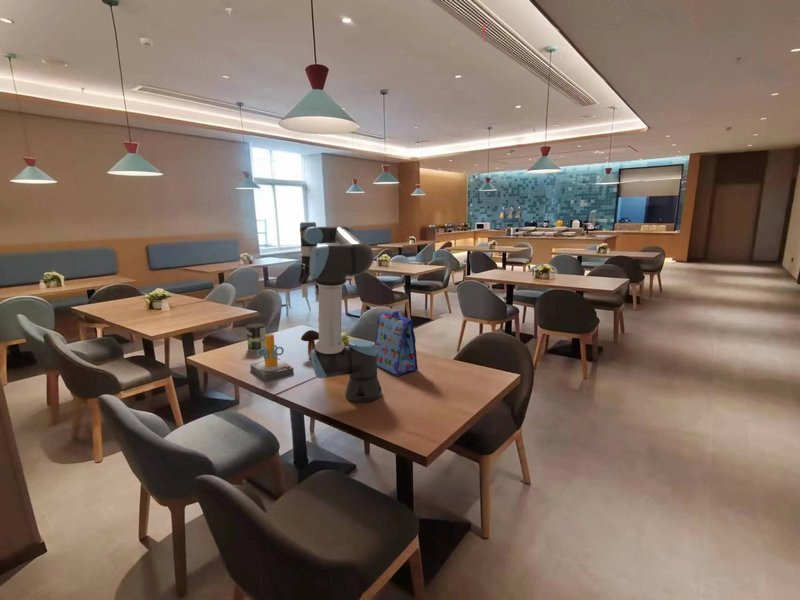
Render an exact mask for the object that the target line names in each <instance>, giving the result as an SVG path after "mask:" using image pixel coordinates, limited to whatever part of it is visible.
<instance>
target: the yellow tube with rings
mask: <svg viewBox="0 0 800 600" xmlns="http://www.w3.org/2000/svg"><path fill="white" fill-rule="evenodd" d="M265 343H266V346H265V347H264V349H259V350H258V351H257V352H256V355H257V356H258V357H259V358H263V359H264V361H265V366H267V367H272V366H276V365H277V364H278V359H277V358H278V356H282V355H283V354H284V350H285V349H284V348H283V347H282V346H277V345H276V344H275V335H274V334H273V333H266V335H265ZM278 349H281V352H280V353H278ZM261 350H263V354H262V355H260V352H262V351H261Z"/></svg>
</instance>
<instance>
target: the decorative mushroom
mask: <svg viewBox="0 0 800 600" xmlns="http://www.w3.org/2000/svg"><path fill="white" fill-rule="evenodd" d="M300 340H301V341H303V342H308V343H307V355H308V357H309V358H311V350H313V349H315V344H316V342H315V341H319V331H316V330H313V329H311V330H307V331H306V332H304V333H303V334H302V336H300Z"/></svg>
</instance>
